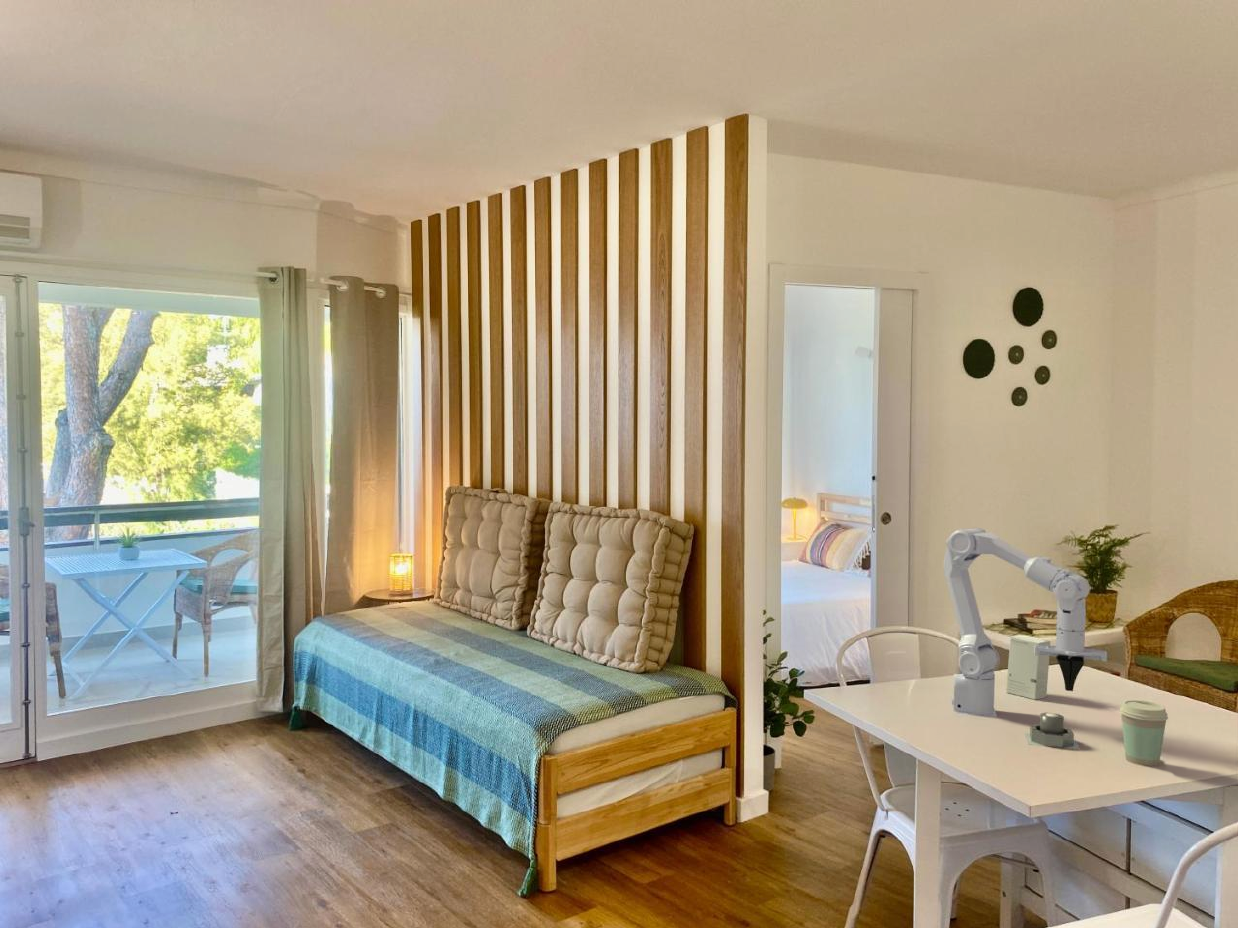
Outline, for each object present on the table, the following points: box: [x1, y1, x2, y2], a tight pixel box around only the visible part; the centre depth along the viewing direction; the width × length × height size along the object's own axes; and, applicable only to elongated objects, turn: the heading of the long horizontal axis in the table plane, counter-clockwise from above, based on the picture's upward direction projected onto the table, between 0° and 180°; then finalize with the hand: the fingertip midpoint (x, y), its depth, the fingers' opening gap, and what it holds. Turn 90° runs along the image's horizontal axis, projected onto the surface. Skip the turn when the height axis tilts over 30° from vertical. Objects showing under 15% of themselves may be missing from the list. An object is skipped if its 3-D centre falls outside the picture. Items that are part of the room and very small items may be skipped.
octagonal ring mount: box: [1029, 723, 1075, 749], centre depth 200 cm, size 8×8×2 cm
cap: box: [1039, 712, 1065, 735], centre depth 200 cm, size 5×5×5 cm
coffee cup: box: [1119, 699, 1169, 767], centre depth 188 cm, size 9×8×12 cm
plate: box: [1024, 732, 1081, 751], centre depth 200 cm, size 10×8×1 cm
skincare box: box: [1005, 634, 1051, 700], centre depth 239 cm, size 8×6×15 cm
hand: (1068, 689), depth 207 cm, fingers closed
